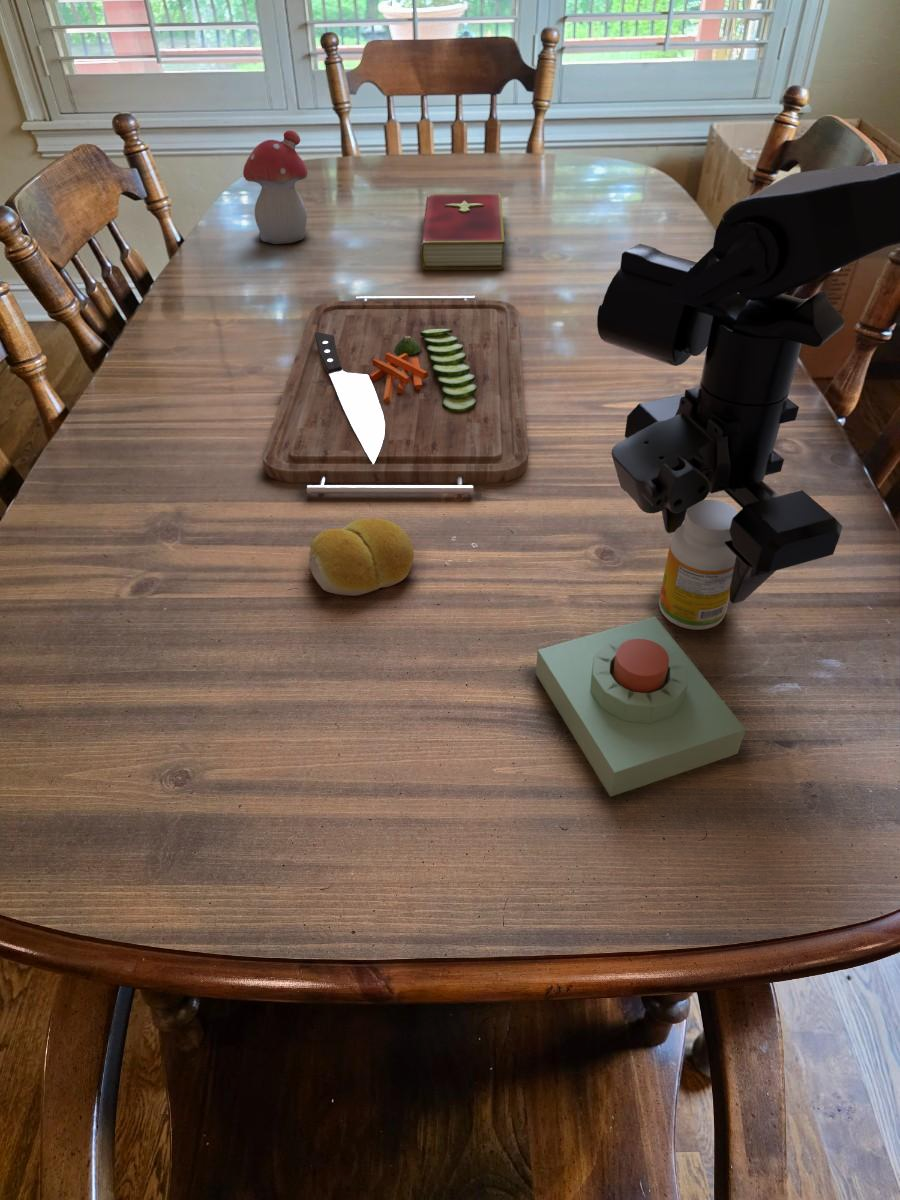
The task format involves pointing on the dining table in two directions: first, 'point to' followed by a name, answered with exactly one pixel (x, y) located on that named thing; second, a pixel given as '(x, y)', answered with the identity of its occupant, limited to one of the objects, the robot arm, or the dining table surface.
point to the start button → (641, 665)
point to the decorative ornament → (278, 189)
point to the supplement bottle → (699, 567)
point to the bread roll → (361, 557)
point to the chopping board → (403, 397)
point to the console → (636, 709)
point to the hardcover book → (463, 232)
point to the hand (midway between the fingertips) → (702, 564)
